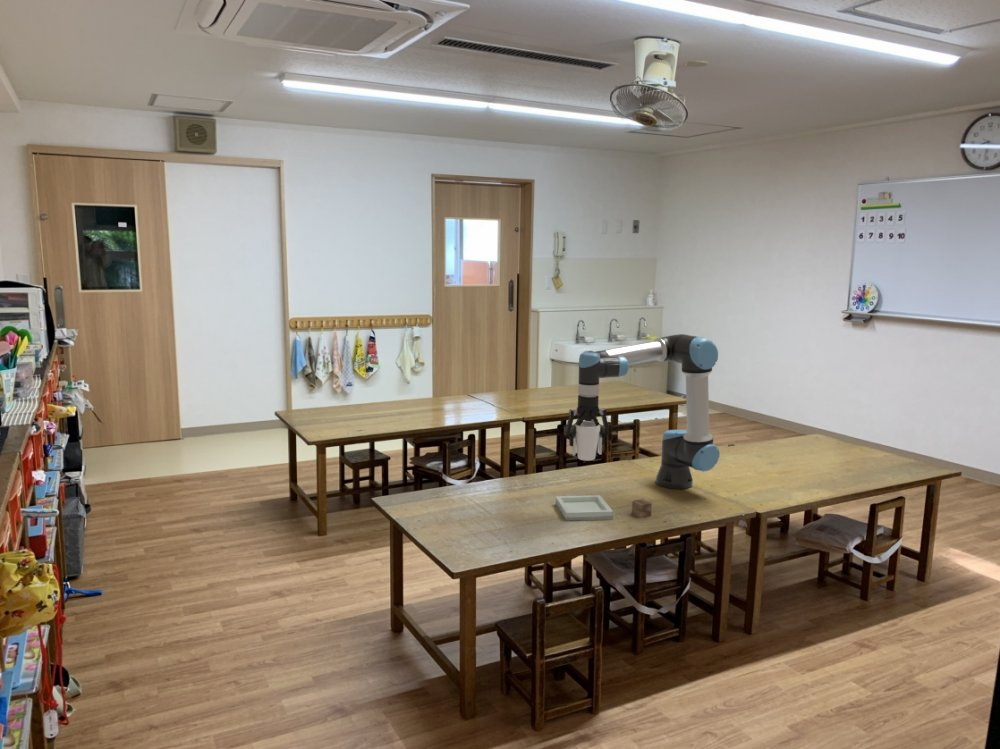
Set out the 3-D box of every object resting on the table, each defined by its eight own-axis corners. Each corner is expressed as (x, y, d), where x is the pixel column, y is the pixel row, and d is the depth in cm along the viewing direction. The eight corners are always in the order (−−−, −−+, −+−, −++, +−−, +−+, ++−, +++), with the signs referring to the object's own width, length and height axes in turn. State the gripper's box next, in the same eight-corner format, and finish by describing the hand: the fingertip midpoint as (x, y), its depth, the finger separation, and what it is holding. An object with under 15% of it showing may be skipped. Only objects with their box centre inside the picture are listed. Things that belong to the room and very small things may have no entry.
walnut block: (642, 511, 281) (642, 498, 280) (650, 515, 276) (651, 503, 275) (631, 513, 278) (632, 500, 277) (640, 518, 274) (641, 505, 273)
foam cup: (598, 455, 280) (600, 421, 277) (599, 462, 271) (600, 427, 268) (573, 454, 280) (574, 420, 278) (573, 461, 271) (574, 426, 269)
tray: (599, 502, 289) (599, 495, 288) (612, 519, 272) (613, 511, 271) (555, 503, 286) (555, 496, 286) (565, 520, 269) (566, 512, 269)
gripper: (614, 392, 276) (612, 450, 280) (556, 393, 273) (555, 452, 277) (620, 396, 269) (618, 455, 273) (561, 397, 266) (559, 457, 270)
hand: (586, 453), depth 275 cm, fingers closed on foam cup, 9 cm apart
